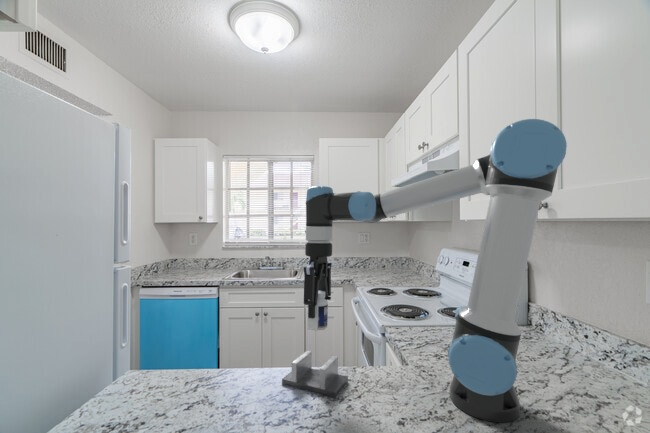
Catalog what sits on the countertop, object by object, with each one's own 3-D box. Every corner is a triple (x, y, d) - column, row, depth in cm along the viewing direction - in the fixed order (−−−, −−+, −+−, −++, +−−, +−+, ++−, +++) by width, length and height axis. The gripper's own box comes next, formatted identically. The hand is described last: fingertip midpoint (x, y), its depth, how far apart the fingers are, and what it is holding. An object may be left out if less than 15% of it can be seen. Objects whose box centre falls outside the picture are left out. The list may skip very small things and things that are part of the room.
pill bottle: (304, 329, 78) (305, 292, 79) (312, 323, 84) (312, 289, 84) (323, 331, 77) (324, 294, 77) (329, 325, 82) (330, 290, 82)
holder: (347, 381, 82) (347, 358, 82) (335, 398, 74) (335, 372, 74) (298, 370, 88) (298, 348, 89) (282, 384, 80) (282, 360, 81)
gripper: (320, 240, 91) (319, 315, 90) (290, 242, 74) (288, 335, 73) (342, 241, 88) (342, 319, 87) (316, 243, 71) (315, 339, 70)
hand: (317, 326), depth 80 cm, fingers closed on pill bottle, 5 cm apart
